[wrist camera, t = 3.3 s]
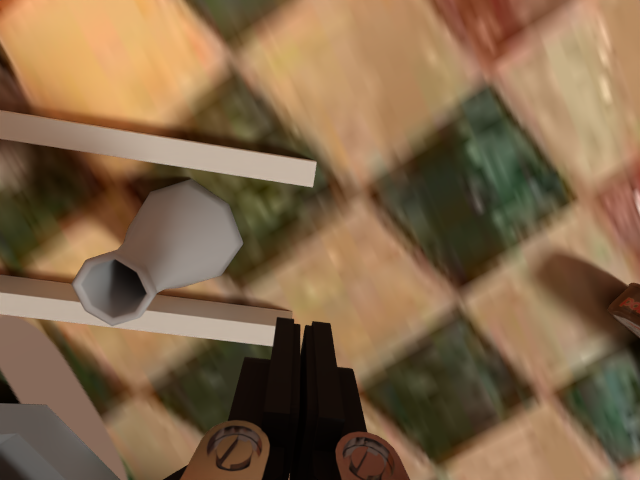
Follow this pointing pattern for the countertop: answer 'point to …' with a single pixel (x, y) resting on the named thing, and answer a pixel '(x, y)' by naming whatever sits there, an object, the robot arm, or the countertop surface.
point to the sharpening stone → (44, 447)
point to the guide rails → (163, 310)
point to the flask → (160, 252)
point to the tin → (628, 308)
